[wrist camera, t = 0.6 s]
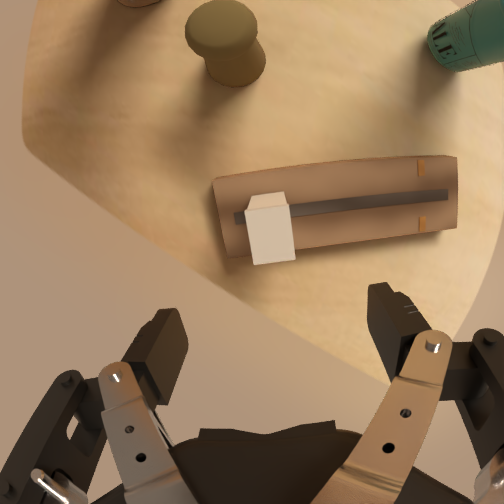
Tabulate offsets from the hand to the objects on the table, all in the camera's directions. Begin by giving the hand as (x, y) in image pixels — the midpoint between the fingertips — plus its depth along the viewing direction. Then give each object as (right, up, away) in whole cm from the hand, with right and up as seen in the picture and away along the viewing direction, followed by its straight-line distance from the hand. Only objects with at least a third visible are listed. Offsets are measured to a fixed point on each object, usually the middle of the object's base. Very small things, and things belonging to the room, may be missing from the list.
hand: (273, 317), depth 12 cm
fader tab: (+1, +6, +16) cm, 17 cm away
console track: (+9, +8, +18) cm, 21 cm away
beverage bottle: (+21, +26, +10) cm, 35 cm away
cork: (-2, +22, +13) cm, 26 cm away
